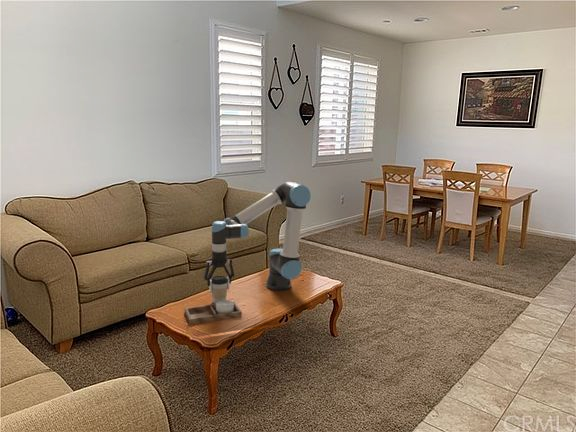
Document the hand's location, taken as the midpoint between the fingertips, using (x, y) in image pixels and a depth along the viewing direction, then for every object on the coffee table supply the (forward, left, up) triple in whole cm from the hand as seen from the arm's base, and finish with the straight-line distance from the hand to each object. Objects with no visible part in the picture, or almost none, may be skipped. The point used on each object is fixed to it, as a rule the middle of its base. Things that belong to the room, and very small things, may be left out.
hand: (219, 290), depth 239 cm
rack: (+7, +15, -7) cm, 18 cm away
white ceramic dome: (+1, +15, -6) cm, 16 cm away
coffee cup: (0, 0, -8) cm, 8 cm away
